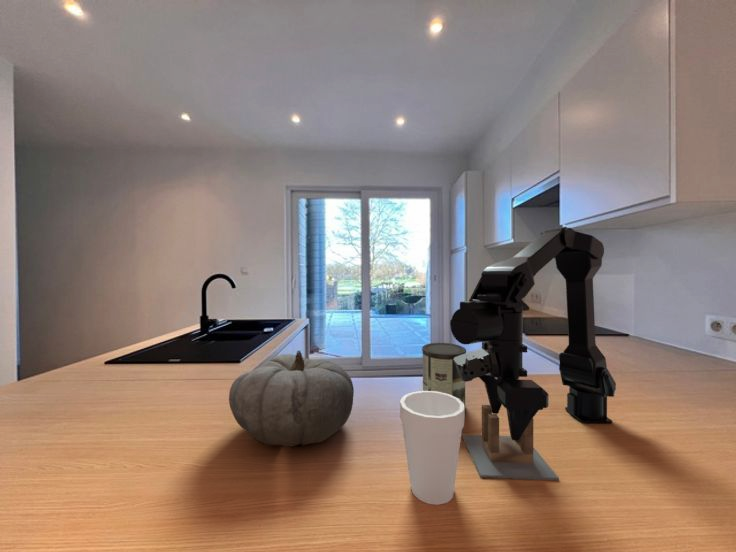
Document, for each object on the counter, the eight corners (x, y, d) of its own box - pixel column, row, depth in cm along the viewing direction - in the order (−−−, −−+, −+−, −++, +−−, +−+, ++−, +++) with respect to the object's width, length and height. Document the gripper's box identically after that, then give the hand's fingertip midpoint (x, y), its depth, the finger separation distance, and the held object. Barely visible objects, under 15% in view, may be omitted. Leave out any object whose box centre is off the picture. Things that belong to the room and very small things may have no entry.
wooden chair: (490, 461, 52) (490, 417, 52) (481, 444, 57) (481, 404, 57) (533, 463, 51) (533, 418, 51) (520, 446, 56) (520, 405, 56)
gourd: (208, 467, 47) (223, 352, 50) (234, 420, 71) (243, 343, 74) (365, 459, 53) (370, 356, 56) (340, 418, 77) (344, 347, 80)
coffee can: (456, 395, 80) (456, 341, 79) (473, 414, 70) (473, 353, 69) (417, 396, 79) (417, 342, 78) (428, 417, 69) (428, 355, 68)
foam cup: (396, 470, 50) (395, 391, 50) (450, 466, 51) (450, 389, 51) (408, 516, 41) (408, 419, 41) (475, 511, 42) (475, 416, 41)
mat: (524, 438, 60) (524, 436, 60) (558, 480, 48) (558, 477, 48) (462, 436, 60) (462, 434, 60) (480, 477, 48) (480, 474, 48)
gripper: (447, 327, 64) (447, 401, 64) (472, 350, 45) (472, 455, 45) (502, 327, 63) (502, 403, 63) (550, 351, 44) (550, 458, 44)
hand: (504, 425), depth 54 cm, fingers open, 9 cm apart
